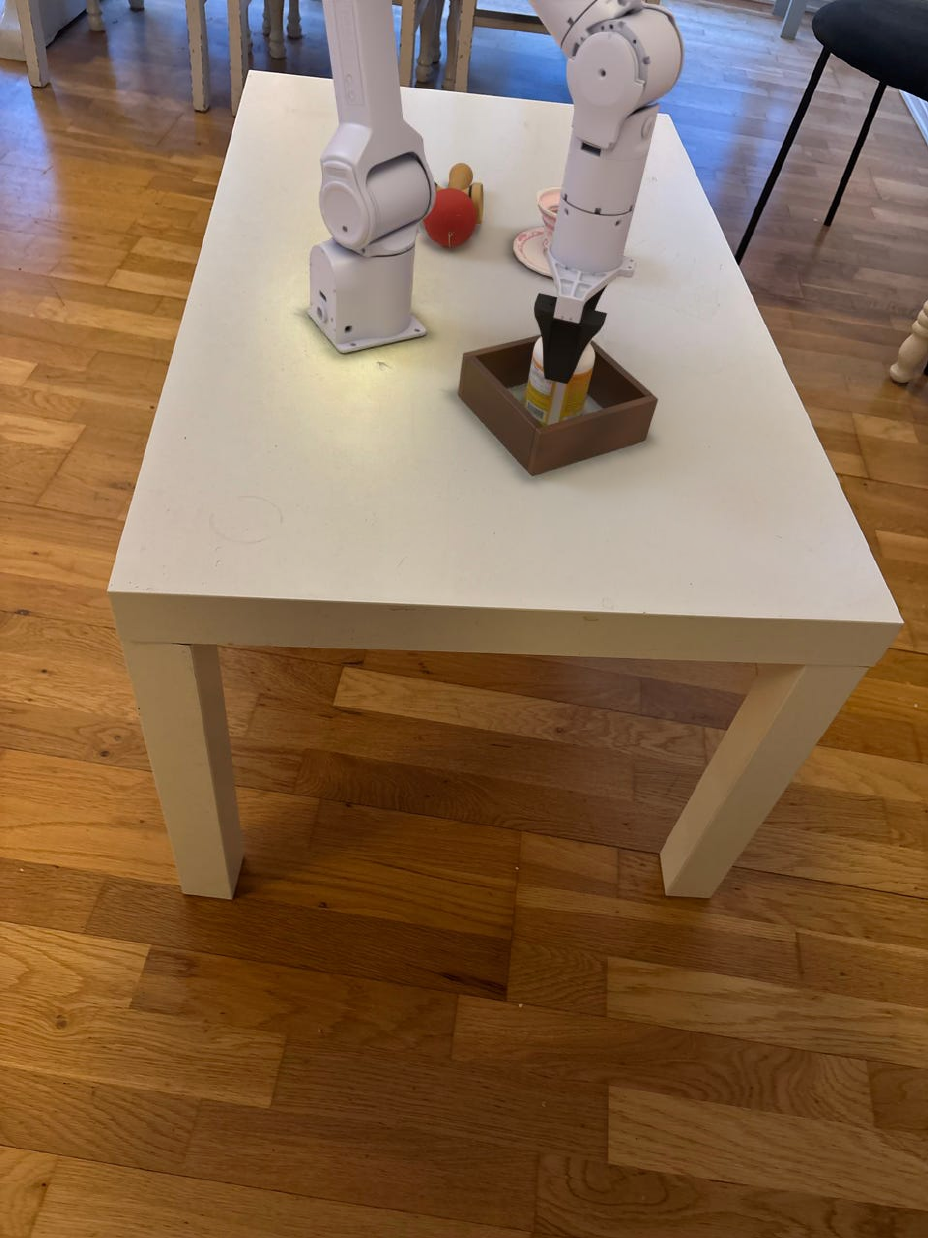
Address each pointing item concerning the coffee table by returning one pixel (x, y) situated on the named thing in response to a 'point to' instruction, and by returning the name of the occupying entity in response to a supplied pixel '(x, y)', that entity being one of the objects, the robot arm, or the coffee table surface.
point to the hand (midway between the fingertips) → (564, 355)
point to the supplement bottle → (557, 389)
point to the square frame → (564, 440)
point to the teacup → (539, 233)
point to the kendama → (456, 208)
